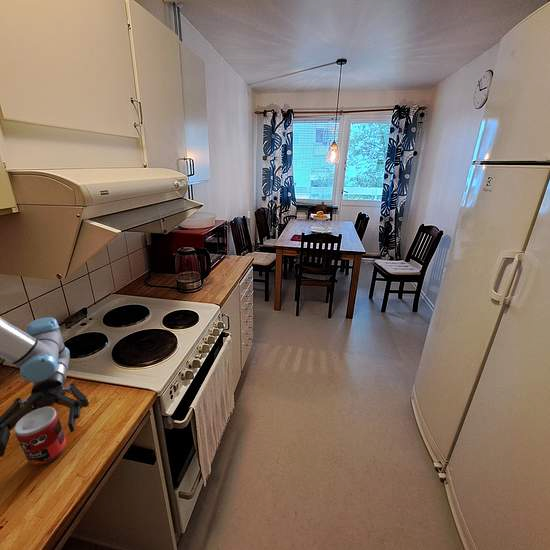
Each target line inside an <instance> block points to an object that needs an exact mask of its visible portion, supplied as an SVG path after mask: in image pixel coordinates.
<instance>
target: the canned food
mask: <svg viewBox="0 0 550 550" xmlns="http://www.w3.org/2000/svg"><path fill="white" fill-rule="evenodd" d="M13 430H14V434H15V437H16V439H17V441H18V443H19V445H20V447H21V449H22V451H23V454H24V457H26V460H27V462H28V463H29V464H31V465H33V466H38V465H42V464H45V463H47V462H49V461H51V460H53V459H54V458H56V457H57V456H58V455H59V454H60V453H61V452H62V451H63V452H64V449H65V448H66V444H67V438H66V435H65V432H64V429H63V427H62V424H61V421H60V419H59V415H58V414H57V411H56V409H55V408H54V407H51V406H47V407H43V408H39V409H36V410H34V411H32V412H30V413H28V414H26V415H25V416H24V417H22V418H21V419H20V420H19V421H18V422H17V424H16V425H15V427H14V428H13ZM63 452H62V453H63Z"/></svg>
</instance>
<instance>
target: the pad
mask: <svg viewBox="0 0 550 550" xmlns="http://www.w3.org/2000/svg"><path fill="white" fill-rule="evenodd" d="M63 452H64V450H63V451H62V452H61V453H60V454H59V455H58V456H57V457H56V458H54V459H53V460H51V461H49V462H47V463H45V464H42V465H37V466H38V467H44V466H47V465H49V464H52V463H53V462H55V461H56V460H57V459H58V458H60V457H61V455H62V454H63Z"/></svg>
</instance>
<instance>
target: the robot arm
mask: <svg viewBox="0 0 550 550" xmlns="http://www.w3.org/2000/svg"><path fill="white" fill-rule="evenodd" d="M60 328H61V326H59V323H58V320H57V319H56V318H54V317H49V316H48V317H41V318H37V319H34V320H32V321H31V322H29V323H28V324H27V325H26V328H25V329H26V331H24V330H22V329H21V328H19V327H18V326H15V325H14V324H12V323H11V322H9V321H7V319H4V318H3V317H1V316H0V359H2V360H4V361H6V362H8V363H10V364H12V365H13V366H16V367H17V368H19V373H20V377H21V378H22V379H23V380H24V381H26V382H29V383H33V385H32V388H31V391H30V395H29V396H28V397H27V398H23V399H21V397H17V398H15V399H14V400H13V402H12V404H11V405H10V406H9V407H8V408H7V409H6V410H5V411H4V412H3V413H2V414H1V415H0V458H2V457H4V454H5V451H6V449H7V445H8V443H9V439H10V436H11V430H14V428H15V425H16V424H17V422H18V421H19V420H20V419H21V418H22V417H24V416H25V415H26V414H28V413H30V412H32V411H34V410H36V409H39V408H43V407H51V406H54V404H55V405H58V406H63V407H66V408H69V413H68V422H67V426H68V429H69V432H70V433H74V432H75V427H76V420H77V419H80V418H81V410H82V409H83V408H87V407H89V406H90V402H89V399H88V397H87V396H86V395H85V394H84V393H83V392H82V391H81V390H80V389H79V388H78V387H77V386H76V382H75V381H73V382H71V383H70V384H69V386H66V380H67V375H68V368H69V364H70V360H71V353H70V350H69V348H68V347H66V346H65V343H64V340H63V337H62V332H61V329H60ZM66 393H67V394H70V395H72V396H73V398H72V397H70V396H67V395H66Z"/></svg>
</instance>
